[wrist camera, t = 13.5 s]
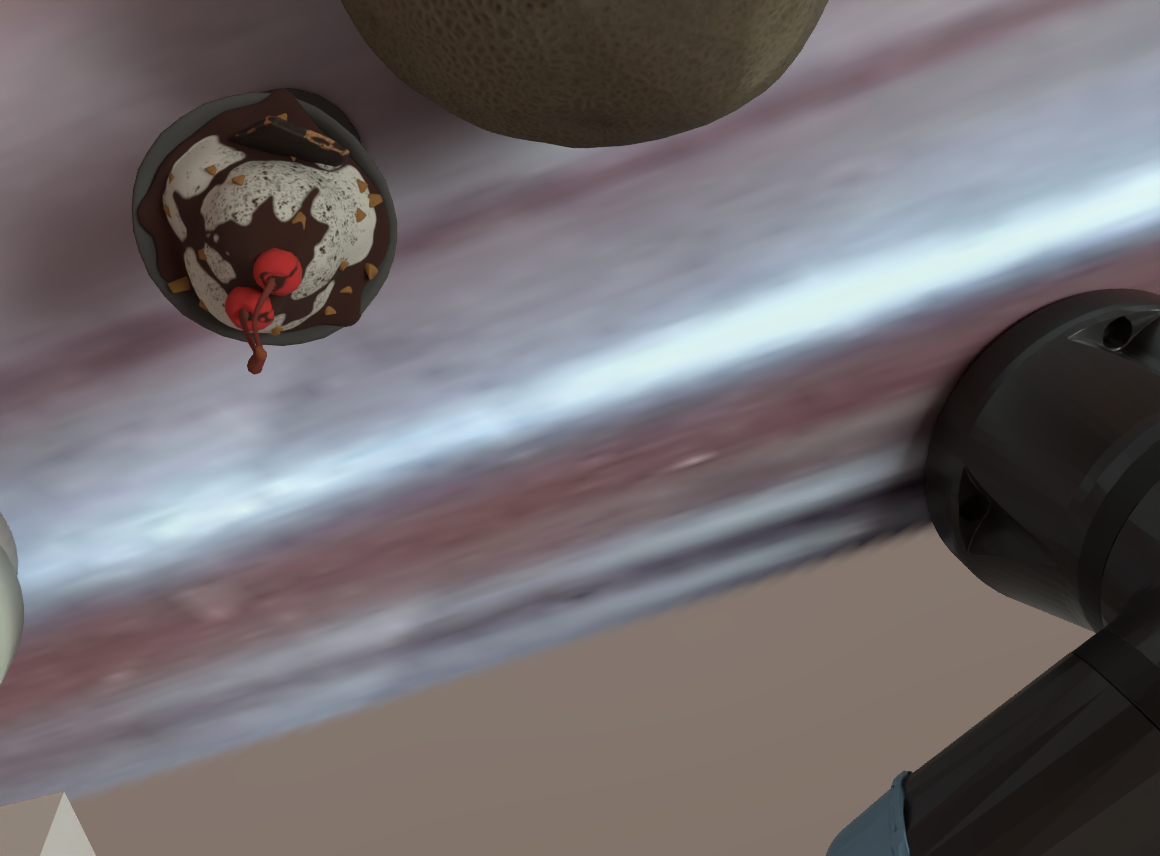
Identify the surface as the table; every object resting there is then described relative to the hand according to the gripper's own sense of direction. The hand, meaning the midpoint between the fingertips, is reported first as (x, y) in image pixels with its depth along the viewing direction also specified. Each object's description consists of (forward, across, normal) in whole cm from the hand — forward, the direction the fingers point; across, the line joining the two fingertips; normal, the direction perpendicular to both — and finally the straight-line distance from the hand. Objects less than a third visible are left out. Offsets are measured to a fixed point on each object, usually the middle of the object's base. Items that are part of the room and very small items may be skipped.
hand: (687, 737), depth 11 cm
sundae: (+29, +6, -3) cm, 29 cm away
